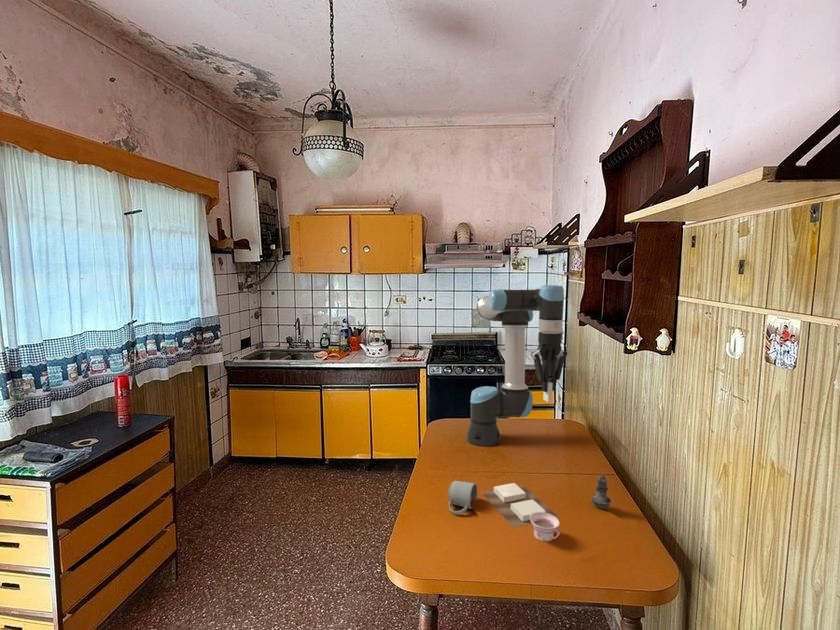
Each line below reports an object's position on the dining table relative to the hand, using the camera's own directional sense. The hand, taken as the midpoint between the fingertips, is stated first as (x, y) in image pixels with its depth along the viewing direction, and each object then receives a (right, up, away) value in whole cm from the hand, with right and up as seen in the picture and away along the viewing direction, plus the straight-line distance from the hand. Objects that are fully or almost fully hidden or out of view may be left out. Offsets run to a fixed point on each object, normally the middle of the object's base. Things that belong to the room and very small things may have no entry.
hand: (547, 400), depth 146 cm
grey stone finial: (+15, -34, -8) cm, 37 cm away
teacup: (-8, -35, -23) cm, 43 cm away
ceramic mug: (-30, -33, -6) cm, 45 cm away
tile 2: (-6, -31, -11) cm, 34 cm away
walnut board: (-12, -33, -7) cm, 36 cm away
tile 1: (-10, -30, -1) cm, 32 cm away
